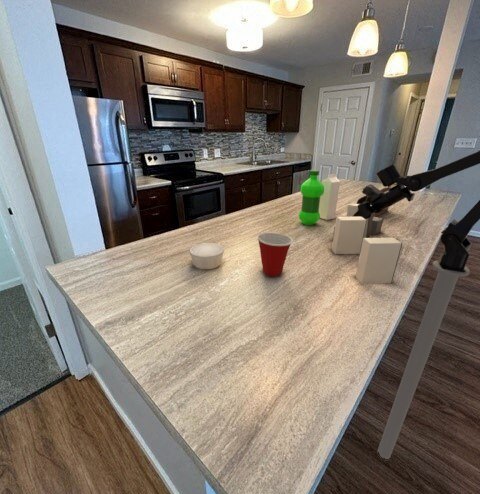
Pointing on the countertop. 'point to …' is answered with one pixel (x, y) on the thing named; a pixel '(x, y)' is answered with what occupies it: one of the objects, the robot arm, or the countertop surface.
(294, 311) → the countertop surface
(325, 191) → the milk
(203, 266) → the ramekin
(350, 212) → the cream rectangular block
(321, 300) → the countertop surface
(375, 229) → the grey books
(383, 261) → the white books
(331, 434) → the countertop surface
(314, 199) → the plastic bottle
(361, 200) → the letter holder
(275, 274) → the plastic cup
